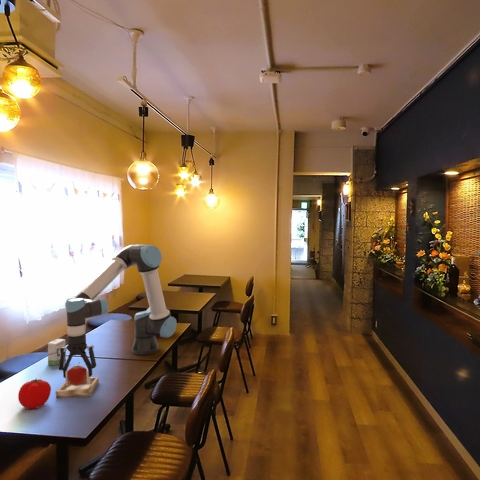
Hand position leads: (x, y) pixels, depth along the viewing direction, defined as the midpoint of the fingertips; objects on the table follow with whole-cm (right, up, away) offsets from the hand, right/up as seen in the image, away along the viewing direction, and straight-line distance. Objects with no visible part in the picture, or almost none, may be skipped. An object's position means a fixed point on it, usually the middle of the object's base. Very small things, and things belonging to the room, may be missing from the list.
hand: (78, 384), depth 171 cm
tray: (0, -3, 0) cm, 3 cm away
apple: (0, -1, 0) cm, 1 cm away
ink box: (-27, -2, +36) cm, 45 cm away
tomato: (-12, -4, -14) cm, 19 cm away
